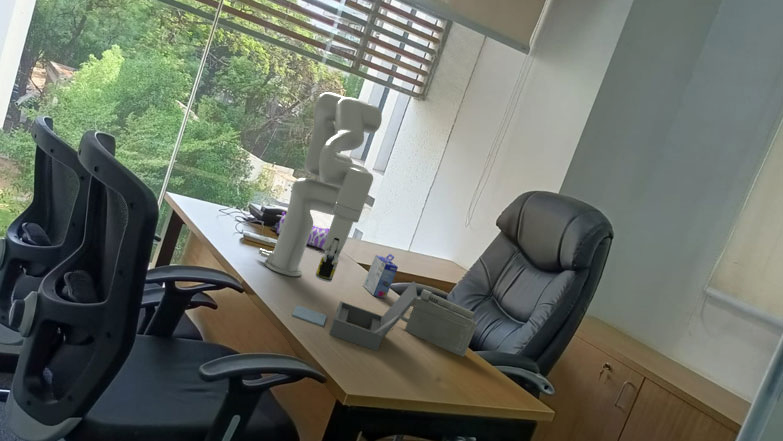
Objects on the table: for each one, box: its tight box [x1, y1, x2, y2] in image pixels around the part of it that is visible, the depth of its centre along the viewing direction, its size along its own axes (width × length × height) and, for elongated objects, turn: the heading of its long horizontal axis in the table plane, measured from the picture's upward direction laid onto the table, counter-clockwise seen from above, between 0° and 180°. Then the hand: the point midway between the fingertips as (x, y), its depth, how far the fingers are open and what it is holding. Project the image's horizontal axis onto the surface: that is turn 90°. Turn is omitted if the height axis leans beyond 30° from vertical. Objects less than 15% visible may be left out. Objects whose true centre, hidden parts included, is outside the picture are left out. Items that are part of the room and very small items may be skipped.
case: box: [329, 281, 418, 352], centre depth 186 cm, size 19×18×17 cm
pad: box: [291, 304, 327, 327], centre depth 187 cm, size 9×9×1 cm
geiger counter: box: [401, 288, 478, 358], centre depth 204 cm, size 14×6×25 cm
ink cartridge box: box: [362, 253, 398, 300], centre depth 235 cm, size 10×6×14 cm, turn 26°
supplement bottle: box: [315, 249, 341, 283], centre depth 185 cm, size 5×5×8 cm
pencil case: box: [274, 211, 330, 251], centre depth 270 cm, size 22×9×10 cm, turn 87°
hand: (325, 273), depth 185 cm, fingers closed on supplement bottle, 4 cm apart
